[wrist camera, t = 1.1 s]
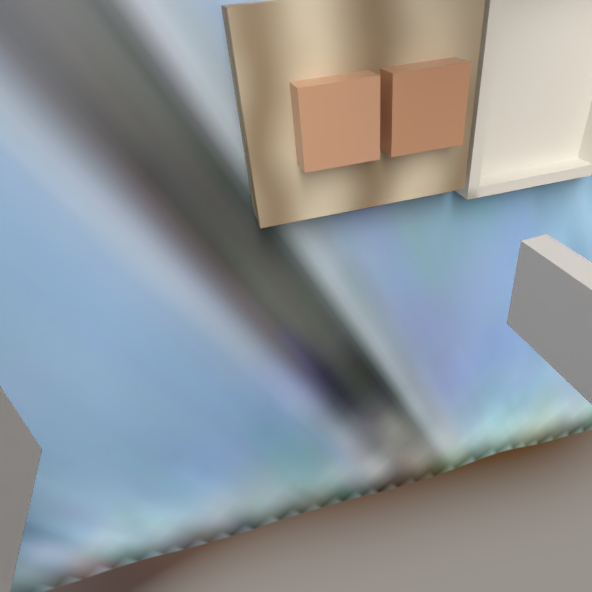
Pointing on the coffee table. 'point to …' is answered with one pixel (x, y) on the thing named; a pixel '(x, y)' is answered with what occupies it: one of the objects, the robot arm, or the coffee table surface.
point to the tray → (531, 97)
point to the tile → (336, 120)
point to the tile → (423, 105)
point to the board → (332, 61)
